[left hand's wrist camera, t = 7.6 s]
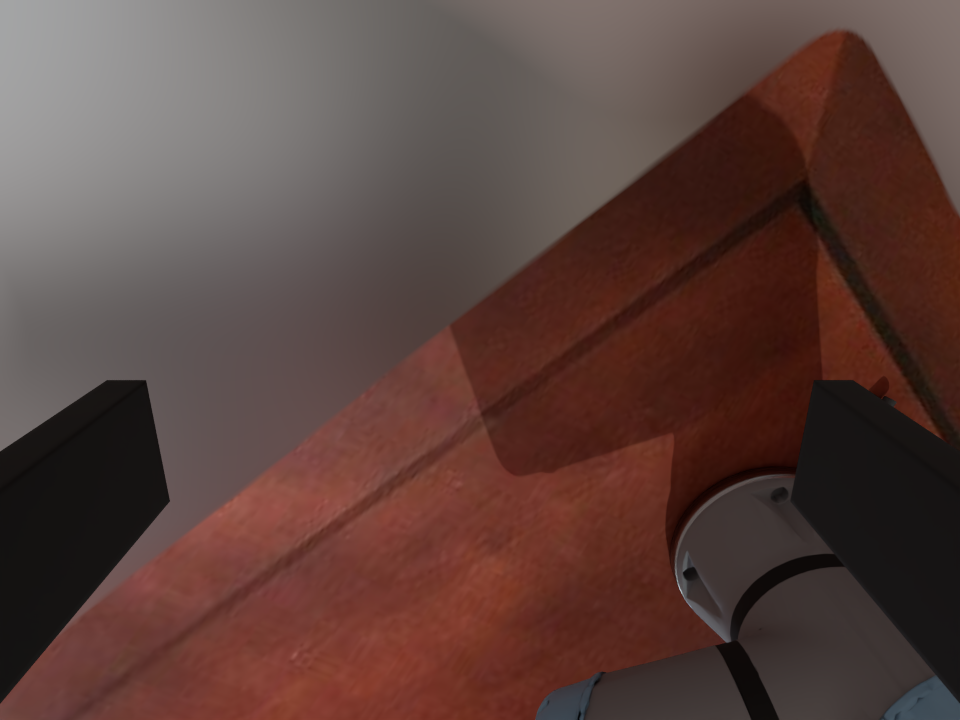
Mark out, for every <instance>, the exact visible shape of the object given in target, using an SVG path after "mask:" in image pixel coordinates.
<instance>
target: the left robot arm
mask: <svg viewBox="0 0 960 720" xmlns="http://www.w3.org/2000/svg"><path fill="white" fill-rule="evenodd" d="M895 404H896V401H894V400H892V399H890V398H888V397H886V396H884V397H883V399H880V398H879V397H877V396H876V395H874V394H873V393H871V392H870V391H868V390H867V389H865V388H864V387H862V386H861V385H859V384H858V383H856V382H855V381H853V380H814V383H813V388H812V393H811V398H810V403H809V408H808V413H807V418H806V424H805V429H804V434H803V439H802V444H801V449H800V454H799V459H798V464H797V469H795V468H788V467H765V468H758V469H753V470H749V471H745V472H742V473H739V474H736V475H733V476H731V477H729V478H727V479H725V480H722V481H720V482H719V483H717V484H715V485H714V486H712V487H711V488H709V489H708V490H707V491H705V492H704V493H703V494H702V495H700V496H699V497H698V498H697V499H696V500H695V501H694V502H693V503H692V504H691V505H690V507H689V508H688V509H687V510H686V512H685V513H684V515H683V516H682V518H681V519H680V521H679V523H678V525H677V527H676V530H675V532H674V535H673V539H672V543H671V551H670V560H671V567H672V571H673V574H674V577H675V580H676V582H677V584H678V586H679V589H680V591H681V593H682V595H683V597H684V599H685V600H686V602H687V603H688V604H689V606H690V607H691V608H692V609H693V610H694V612H695V613H696V614H697V615H698V616H699V617H700V618H701V619H702V620H704V621H705V622H706V623H707V624H708V625H709V626H710V627H711V628H712V629H713V630H714V631H715V632H716V633H717V634H718V635H719V636H720V637H721V638H722V639H724V640H725V641H726V642H727V643H724V644H720V645H715V646H711V647H707V648H703V649H699V650H696V651H692V652H688V653H684V654H680V655H677V656H673V657H669V658H665V659H662V660H658V661H654V662H650V663H646V664H642V665H638V666H633V667H629V668H625V669H621V670H617V671H613V672H609V673H606V672H598V673H596V674H595V675H593V676H592V677H591V678H590V679H587V680H584V681H581V682H578V683H575V684H572V685H569V686H565V687H562V688H559V689H557V690H554V691H553V692H551V693H550V694H549V695H548V696H547V697H546V698H545V699H544V700H543V702H542V703H541V705H540V707H539V709H538V712H537V716H536V720H960V451H958V450H957V449H955V448H954V447H952V446H951V445H949V444H948V443H946V442H945V441H943V440H942V439H940V438H939V437H937V436H936V435H934V434H933V433H931V432H930V431H928V430H927V429H925V428H924V427H922V426H921V425H919V424H918V423H916V422H915V421H913V420H912V419H910V418H909V417H907V416H906V415H904V414H903V413H901V412H900V411H898V410H897V409H895V408H894V405H895ZM169 502H170V500H169V495H168V489H167V484H166V479H165V474H164V469H163V464H162V459H161V454H160V449H159V444H158V439H157V434H156V429H155V424H154V419H153V414H152V408H151V403H150V398H149V393H148V388H147V383H146V380H107V381H105V382H104V383H102V384H101V385H99V386H98V387H96V388H95V389H93V390H92V391H90V392H89V393H87V394H86V395H84V396H83V397H81V398H80V399H78V400H77V401H75V402H74V403H72V404H71V405H69V406H68V407H66V408H65V409H63V410H62V411H60V412H59V413H57V414H56V415H54V416H53V417H51V418H50V419H48V420H47V421H45V422H44V423H42V424H41V425H39V426H38V427H36V428H35V429H33V430H32V431H30V432H29V433H27V434H26V435H24V436H23V437H21V438H20V439H18V440H17V441H15V442H14V443H12V444H11V445H9V446H8V447H6V448H5V449H3V450H2V451H0V703H1V702H2V701H3V700H4V698H5V697H6V696H7V695H8V694H9V693H10V691H11V690H12V689H13V688H14V687H15V685H16V684H17V683H18V682H19V681H20V679H21V678H22V677H23V676H24V675H25V673H26V672H27V671H28V670H29V669H30V667H31V666H32V665H33V664H34V663H35V661H36V660H37V659H38V658H39V657H40V656H41V654H42V653H43V652H44V651H45V650H46V648H47V647H48V646H49V645H50V644H51V642H52V641H53V640H54V639H55V638H56V636H57V635H58V634H59V633H60V632H61V630H62V629H63V628H64V627H65V626H66V624H67V623H68V622H69V621H70V620H71V618H72V617H73V616H74V615H75V614H76V613H77V611H78V610H79V609H80V608H81V607H82V605H83V604H84V603H85V602H86V601H87V599H88V598H89V597H90V596H91V595H92V593H93V592H94V591H95V590H96V589H97V588H98V586H99V585H100V584H101V583H102V582H103V580H104V579H105V578H106V577H107V576H108V574H109V573H110V572H111V571H112V570H113V568H114V567H115V566H116V565H117V564H118V562H119V561H120V560H121V559H122V558H123V556H124V555H125V554H126V553H127V552H128V550H129V549H130V548H131V547H132V546H133V545H134V543H135V542H136V541H137V540H138V539H139V537H140V536H141V535H142V534H143V533H144V531H145V530H146V529H147V528H148V527H149V526H150V524H151V523H152V522H153V521H154V520H155V518H156V517H157V516H158V515H159V513H160V512H161V511H162V510H163V509H164V508H165V506H166V505H167V504H168V503H169Z"/></svg>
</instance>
